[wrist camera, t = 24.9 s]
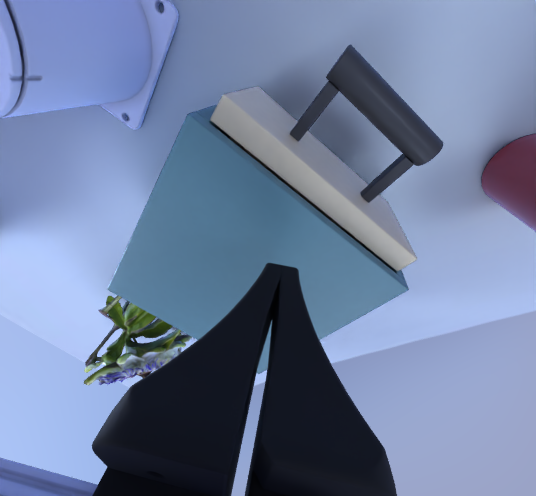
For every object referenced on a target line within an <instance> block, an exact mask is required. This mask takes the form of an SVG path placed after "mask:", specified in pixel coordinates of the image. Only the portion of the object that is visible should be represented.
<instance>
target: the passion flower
mask: <svg viewBox="0 0 536 496" xmlns="http://www.w3.org/2000/svg"><path fill="white" fill-rule="evenodd" d="M121 298H122V297H120V296H117V297H116V298H113V297H112V296H108V298H107V301H106V305H107V306H106V307H104V308H102V309H100V310H98V311H99V312H100V313H101V314H103V315H104V316H105V317H108V318H109V319H111V320H112V321H113V322H114V323H115V324H114V326H113V328H112V330H111V331H110V332H109V333H108V335H107V336H106V337H105V338H104V340H103V341H102V342H101V344H100V345H99V346H98V347H97V349H96V350H95V351H94V352H93V353H92V354H91V355H90V357H89V359H88V360H87V361H86V362H85V363H86V368H85V370H84V371H85V372H86V373H87V372H89V371H90V370H92V369H93V368H96V367H98V366H99V365H100V364H103V365H104V367H103V368H101V369H100V370H98V371H97V372H95V373H94V374H92V375H91V376H90V377H88V378H87V379H86V380H85V381H84V384H86V385H90V384H92V383H93V382H94V381H95V380H98V379H99V381H100V382H99V384H100V385H101V384H103V383H106V384H110V383H113V382H116V381H121V382H122V381H123V380H124V379H127V378H132V377H134V376H136V375H139V376H141V377H143V378H145V377H146V376H148V375H149V374H150V373H151V372H152V371H153V370H156V369H159V368H160V367H162V366H163V365H165V364H166V363H168V362H169V361H171V360H172V359H173V358H175V357H176V356H178V355H179V354H180V353H182V352H181V347H185V346H186V344H185V342H187V341H189V340H190V339H192V336H190V335H181V333H180V332H181V330H179V329H177V330H176V331H175V332H173V333H170V334H168V335H167V336H166V337H162V338H160V339H158V340H156V341H154V342H150V343H137V341H136V340H135V338H137V337H140V336H144V337H145V338H157V337H158V336H161V335H163V334H165V333H167V331H168V330H169V329H170V328H171V327H173V326H172V325H170V324H168V323H166V322H165V321H163V320H161V319H157V320H156V321H155V322H153V323H151V322H152V321H153V320H154V319H155V318H156V316H154V315H152V314H150V313H148V312H147V311H145V310H143V309H141V308H139V307H138V306H136V305H134V304H132V303H130V302H129V301H127V302H126V303H125V305H124V306H123V308H122V307H121V305H120V303H119V302H118V301H119V300H120V299H121ZM129 303H130V304H129ZM107 314H108V315H109V316H108V315H107ZM150 323H151V324H150ZM149 324H150V325H149ZM119 328H122V329H123V332H122V334H121V336H120V337H119V338H118V339H117V340H116V341H115V342H113V343H112V344H111V345H110V346H109V347H108V348H107V352H106V353H105V354H104V355H102V357H97V353H98V351H99V350H100V349H101V347H102V346H103V345H104V344H105V342H106V341H107V340H108V339H109V337H110V336H111V335H112V334H113V333H114V331H116V330H117V329H119ZM131 338H133V340H134V342H133V341H132V340H131ZM124 346H125V348H126V353H125V354H123V355H122V356H121V354H122V350H123V348H124ZM96 361H100V362H97V363H95V362H96Z"/></svg>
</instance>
